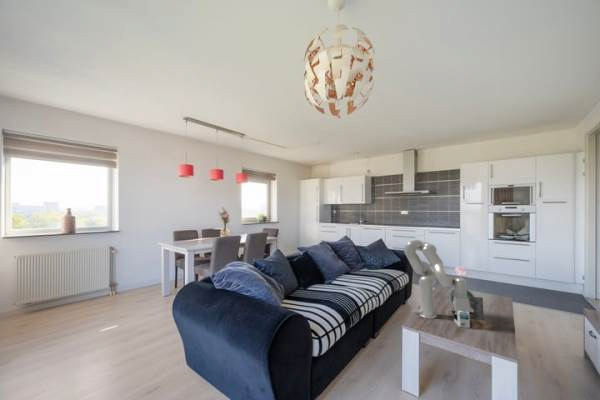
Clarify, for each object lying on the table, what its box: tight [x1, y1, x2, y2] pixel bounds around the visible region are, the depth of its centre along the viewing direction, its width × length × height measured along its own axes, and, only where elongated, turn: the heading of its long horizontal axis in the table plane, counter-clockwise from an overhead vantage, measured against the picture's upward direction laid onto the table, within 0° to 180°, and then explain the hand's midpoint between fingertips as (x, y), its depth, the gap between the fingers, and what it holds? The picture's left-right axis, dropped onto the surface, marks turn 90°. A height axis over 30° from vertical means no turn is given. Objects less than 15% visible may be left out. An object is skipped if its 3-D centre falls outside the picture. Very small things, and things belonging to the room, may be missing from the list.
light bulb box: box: [453, 311, 471, 329], centre depth 184 cm, size 11×7×11 cm, turn 168°
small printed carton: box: [467, 295, 493, 331], centre depth 183 cm, size 12×14×18 cm
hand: (461, 319), depth 184 cm, fingers closed on light bulb box, 6 cm apart
